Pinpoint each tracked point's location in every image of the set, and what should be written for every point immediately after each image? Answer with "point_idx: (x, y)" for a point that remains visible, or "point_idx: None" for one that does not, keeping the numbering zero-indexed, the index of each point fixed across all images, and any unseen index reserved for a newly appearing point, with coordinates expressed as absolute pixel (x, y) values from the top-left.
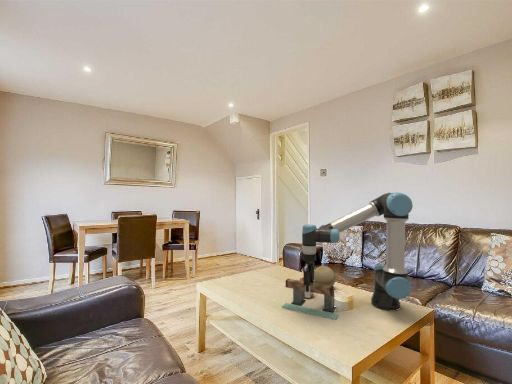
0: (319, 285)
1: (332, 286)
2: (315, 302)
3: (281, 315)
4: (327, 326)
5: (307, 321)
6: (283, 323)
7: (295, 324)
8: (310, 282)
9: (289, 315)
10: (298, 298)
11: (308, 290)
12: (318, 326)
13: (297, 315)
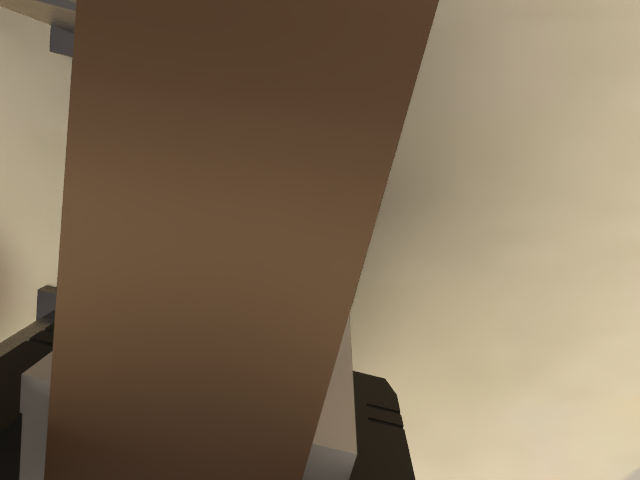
0: (305, 88)
1: None
2: (37, 182)
3: (448, 461)
4: (622, 23)
5: (532, 239)
6: (599, 431)
7: (608, 338)
8: (51, 468)
9: (433, 402)
10: None
11: (368, 393)
12: (630, 124)
13: (418, 337)
